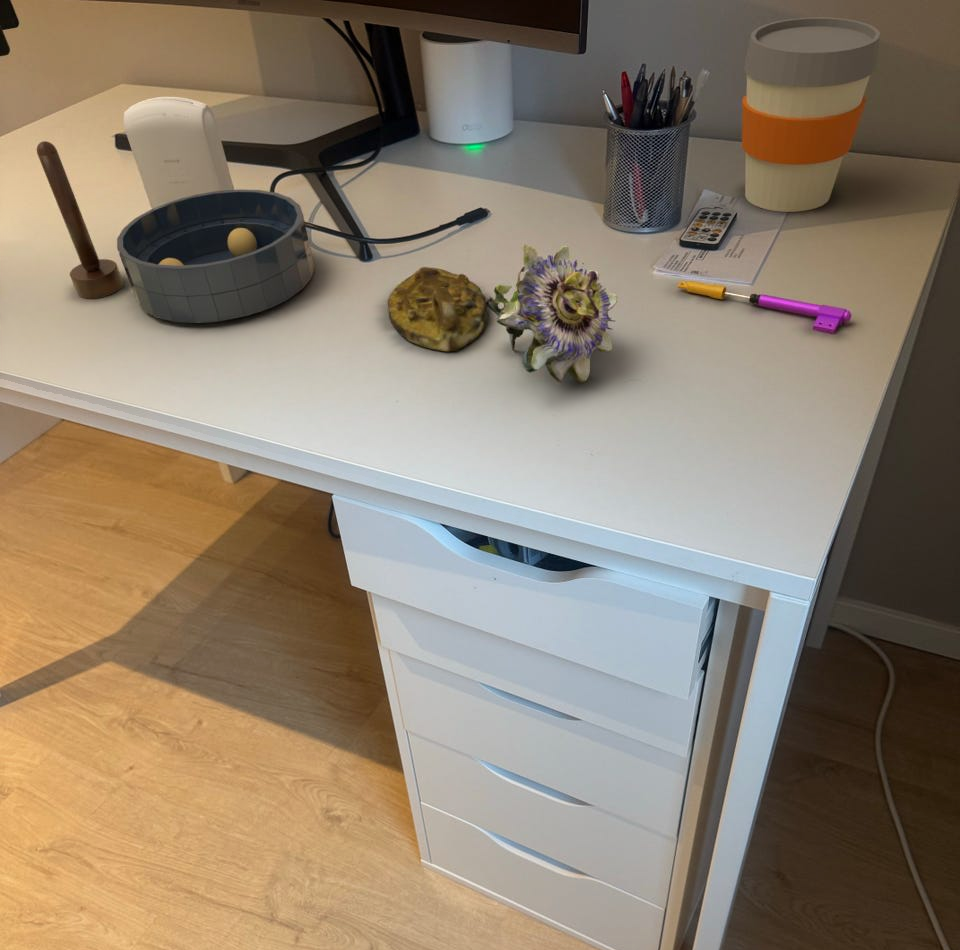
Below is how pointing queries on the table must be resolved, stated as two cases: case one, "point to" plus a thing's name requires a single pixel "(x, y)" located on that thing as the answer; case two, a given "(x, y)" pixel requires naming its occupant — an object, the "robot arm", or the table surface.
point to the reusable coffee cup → (803, 107)
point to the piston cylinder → (779, 305)
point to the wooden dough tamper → (78, 232)
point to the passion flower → (556, 314)
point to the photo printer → (176, 148)
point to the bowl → (216, 256)
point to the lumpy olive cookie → (438, 309)
